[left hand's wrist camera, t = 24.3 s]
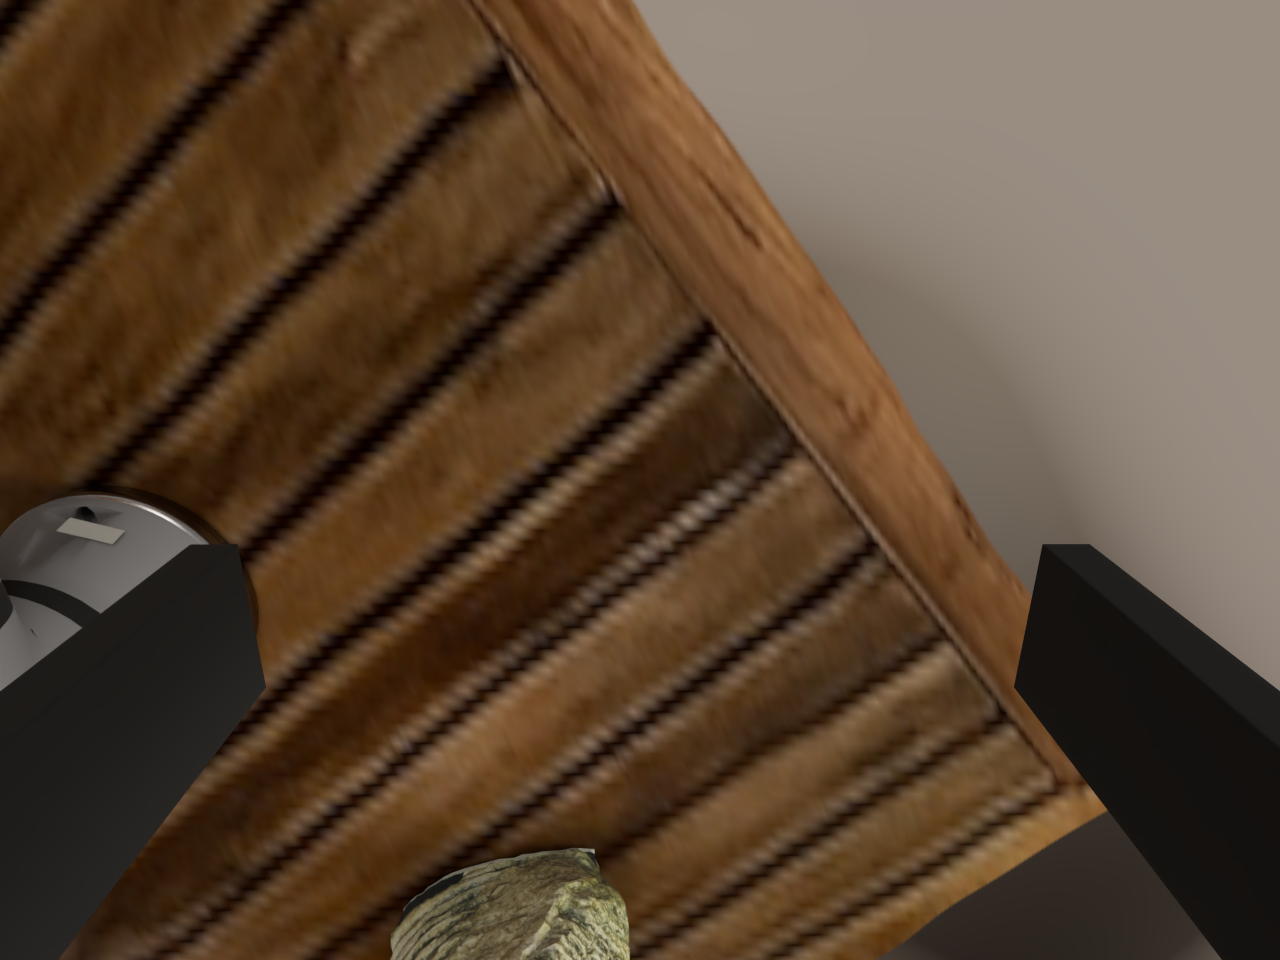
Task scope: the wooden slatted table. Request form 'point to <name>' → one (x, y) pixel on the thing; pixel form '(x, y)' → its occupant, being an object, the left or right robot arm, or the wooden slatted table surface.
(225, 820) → the wooden slatted table surface
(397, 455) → the wooden slatted table surface
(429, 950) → the fossil
